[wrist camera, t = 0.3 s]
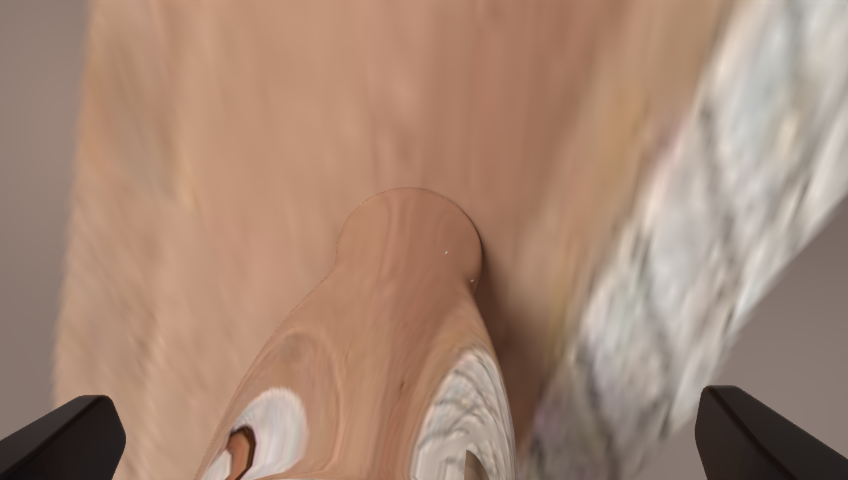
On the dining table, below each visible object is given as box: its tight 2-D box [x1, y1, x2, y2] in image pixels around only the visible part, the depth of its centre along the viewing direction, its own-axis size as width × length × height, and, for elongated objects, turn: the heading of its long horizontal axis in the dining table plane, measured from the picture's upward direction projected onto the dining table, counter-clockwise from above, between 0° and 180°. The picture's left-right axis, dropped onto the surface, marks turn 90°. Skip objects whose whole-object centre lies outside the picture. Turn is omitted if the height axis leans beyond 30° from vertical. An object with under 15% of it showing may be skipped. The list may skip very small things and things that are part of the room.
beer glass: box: [194, 188, 518, 480], centre depth 17 cm, size 7×7×15 cm
